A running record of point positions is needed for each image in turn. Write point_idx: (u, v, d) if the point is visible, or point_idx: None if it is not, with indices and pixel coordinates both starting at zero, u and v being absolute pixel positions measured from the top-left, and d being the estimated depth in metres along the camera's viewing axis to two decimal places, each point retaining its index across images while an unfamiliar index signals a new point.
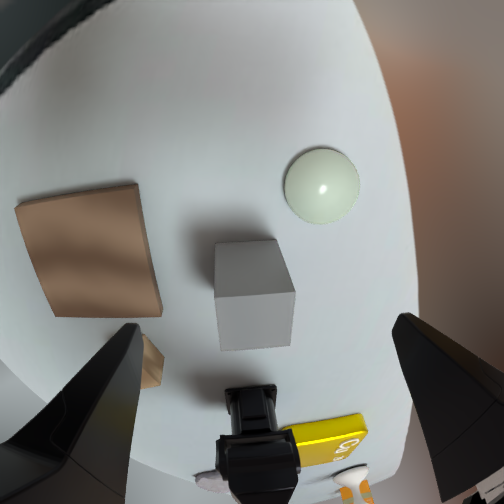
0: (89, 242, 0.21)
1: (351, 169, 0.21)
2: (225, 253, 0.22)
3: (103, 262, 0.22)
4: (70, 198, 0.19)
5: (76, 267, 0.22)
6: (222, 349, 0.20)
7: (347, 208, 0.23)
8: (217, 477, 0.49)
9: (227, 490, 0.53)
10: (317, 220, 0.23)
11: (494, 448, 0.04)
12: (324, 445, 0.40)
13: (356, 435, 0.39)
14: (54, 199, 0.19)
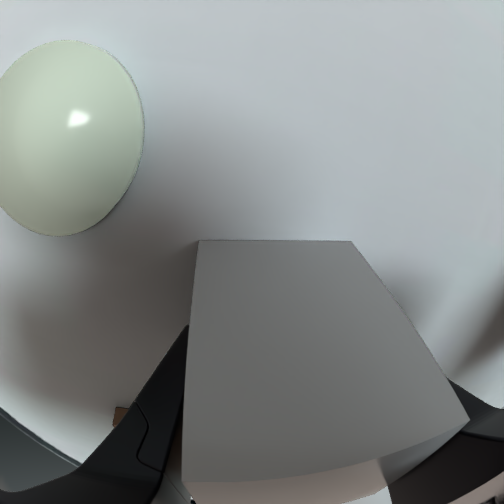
0: None
1: (5, 85, 0.05)
2: None
3: None
4: None
5: None
6: None
7: (92, 58, 0.05)
8: None
9: None
10: (125, 144, 0.07)
11: (448, 477, 0.04)
12: None
13: None
14: None
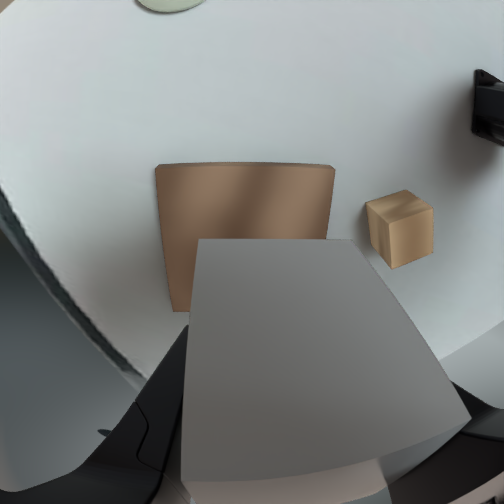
0: (216, 232, 0.21)
1: None
2: None
3: (244, 221, 0.20)
4: (163, 243, 0.21)
5: None
6: (369, 494, 0.06)
7: None
8: None
9: None
10: None
11: (448, 477, 0.04)
12: None
13: None
14: (165, 262, 0.22)
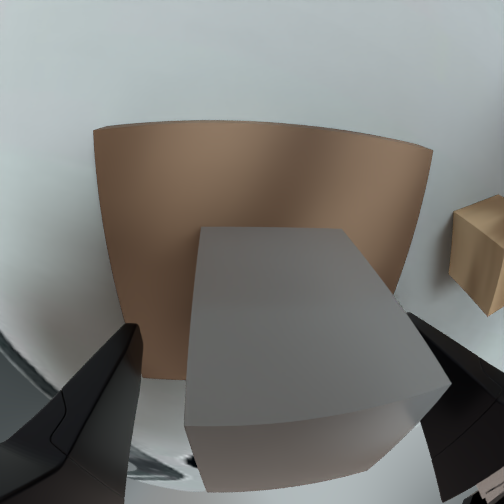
0: None
1: None
2: None
3: None
4: (114, 276, 0.10)
5: None
6: (362, 471, 0.07)
7: None
8: None
9: None
10: None
11: (494, 448, 0.04)
12: None
13: None
14: (123, 308, 0.11)
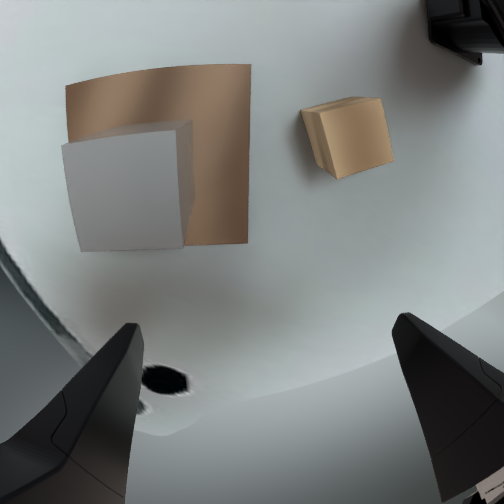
0: None
1: None
2: None
3: None
4: None
5: None
6: (178, 245, 0.12)
7: None
8: None
9: None
10: None
11: (494, 448, 0.04)
12: None
13: None
14: None
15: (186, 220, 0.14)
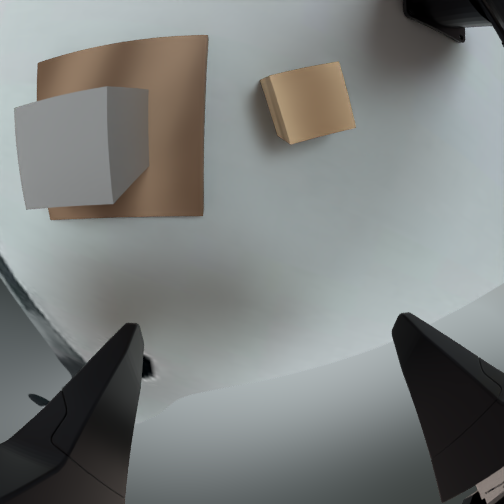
0: None
1: None
2: None
3: None
4: None
5: None
6: (108, 201, 0.11)
7: None
8: None
9: None
10: None
11: (494, 448, 0.04)
12: None
13: None
14: None
15: (124, 180, 0.13)
